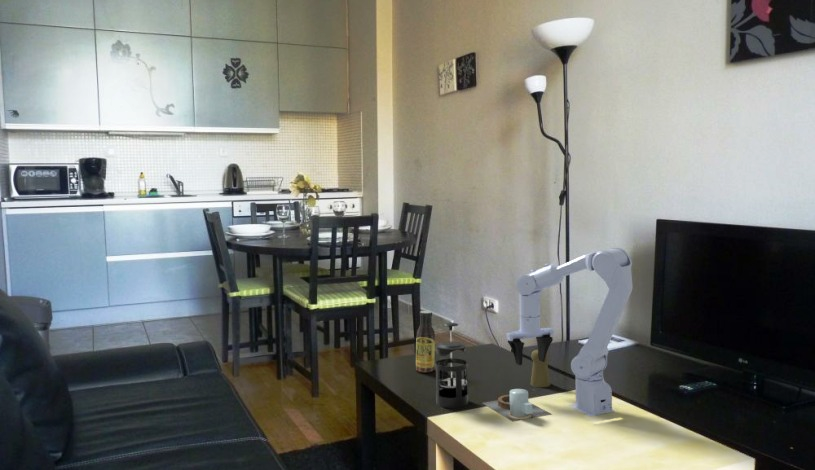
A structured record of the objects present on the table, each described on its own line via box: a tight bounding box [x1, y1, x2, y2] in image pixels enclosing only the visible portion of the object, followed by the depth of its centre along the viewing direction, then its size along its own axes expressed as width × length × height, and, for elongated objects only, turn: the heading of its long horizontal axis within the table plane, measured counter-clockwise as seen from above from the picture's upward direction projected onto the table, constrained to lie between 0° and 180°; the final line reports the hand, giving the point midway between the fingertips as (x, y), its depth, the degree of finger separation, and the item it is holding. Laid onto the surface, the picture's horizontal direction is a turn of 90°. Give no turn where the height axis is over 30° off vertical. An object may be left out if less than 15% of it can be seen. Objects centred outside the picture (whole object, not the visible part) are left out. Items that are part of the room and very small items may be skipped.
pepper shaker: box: [530, 349, 551, 388], centre depth 193 cm, size 6×6×11 cm
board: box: [482, 394, 552, 422], centre depth 172 cm, size 16×12×2 cm
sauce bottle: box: [415, 310, 436, 374], centre depth 212 cm, size 6×6×20 cm
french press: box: [434, 322, 469, 409], centre depth 178 cm, size 12×9×23 cm
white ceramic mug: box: [509, 388, 533, 417], centre depth 166 cm, size 8×5×6 cm, turn 21°
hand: (530, 362), depth 183 cm, fingers open, 7 cm apart
